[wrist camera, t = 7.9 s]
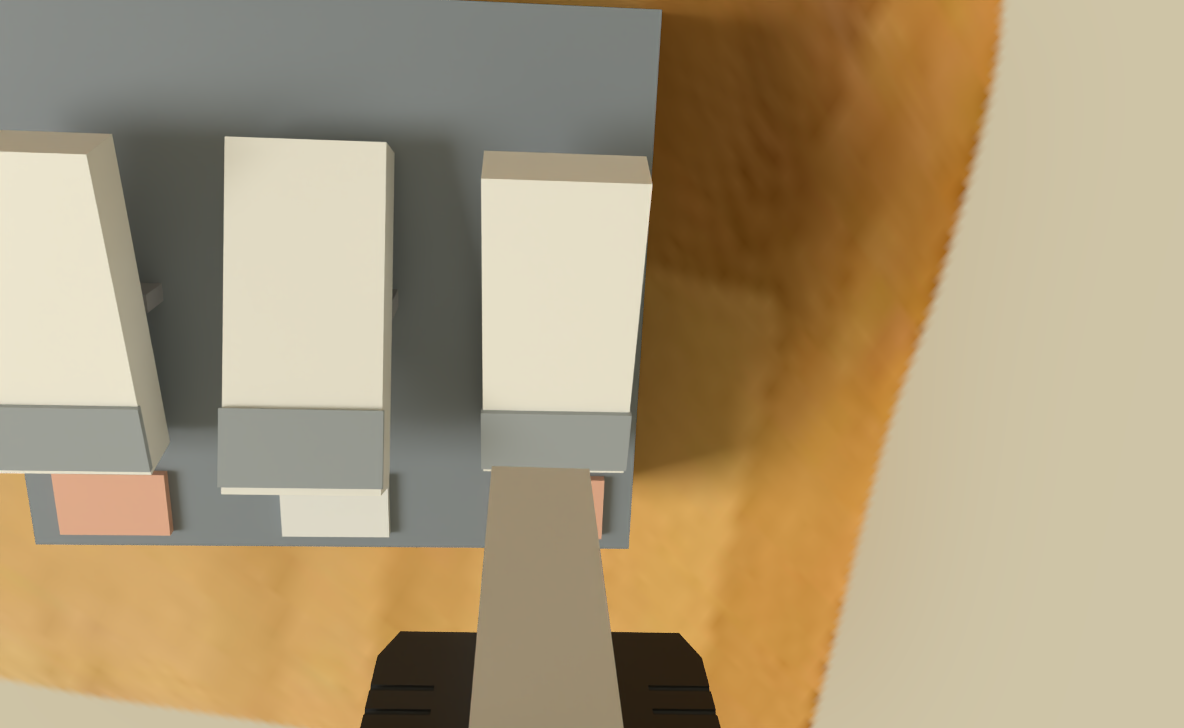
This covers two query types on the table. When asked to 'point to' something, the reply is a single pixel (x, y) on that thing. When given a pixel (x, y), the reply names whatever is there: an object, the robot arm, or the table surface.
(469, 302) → the switch unit
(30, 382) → the switch
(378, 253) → the switch
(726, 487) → the table surface
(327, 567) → the table surface
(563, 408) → the switch
